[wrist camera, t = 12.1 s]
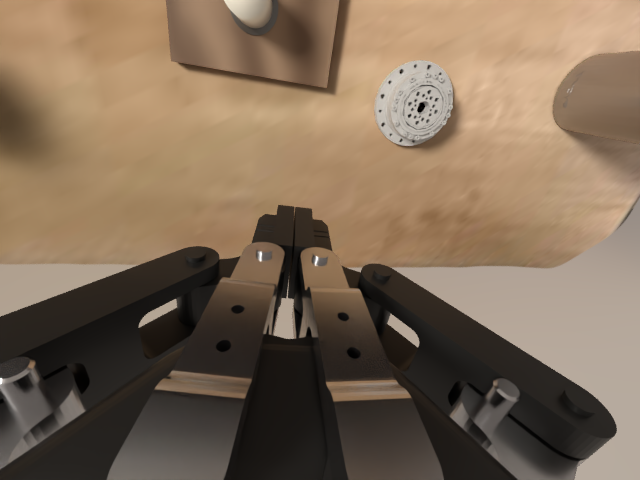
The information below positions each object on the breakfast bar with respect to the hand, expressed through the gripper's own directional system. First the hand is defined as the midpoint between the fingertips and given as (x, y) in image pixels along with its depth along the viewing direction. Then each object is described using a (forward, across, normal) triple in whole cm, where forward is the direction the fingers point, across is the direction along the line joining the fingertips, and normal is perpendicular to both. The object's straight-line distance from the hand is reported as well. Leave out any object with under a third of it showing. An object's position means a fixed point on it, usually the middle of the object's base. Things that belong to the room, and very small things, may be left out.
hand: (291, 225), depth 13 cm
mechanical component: (+30, -15, -5) cm, 33 cm away
